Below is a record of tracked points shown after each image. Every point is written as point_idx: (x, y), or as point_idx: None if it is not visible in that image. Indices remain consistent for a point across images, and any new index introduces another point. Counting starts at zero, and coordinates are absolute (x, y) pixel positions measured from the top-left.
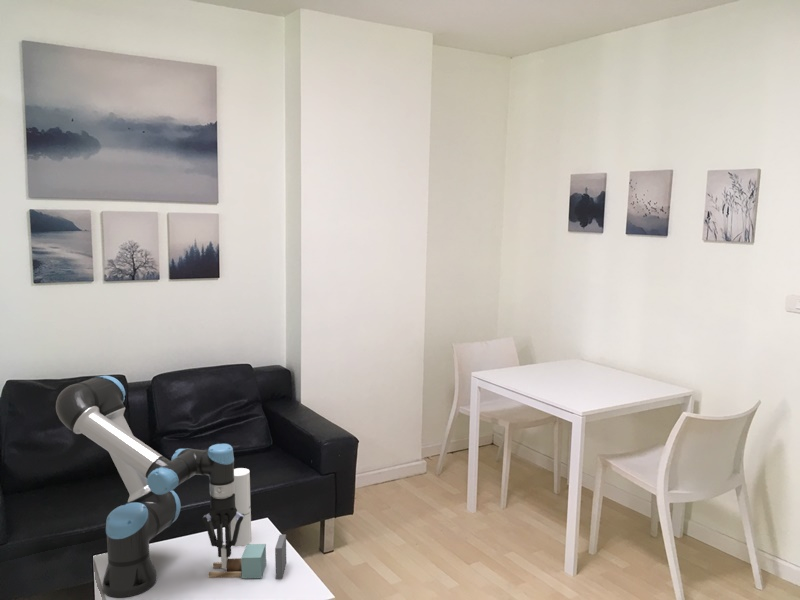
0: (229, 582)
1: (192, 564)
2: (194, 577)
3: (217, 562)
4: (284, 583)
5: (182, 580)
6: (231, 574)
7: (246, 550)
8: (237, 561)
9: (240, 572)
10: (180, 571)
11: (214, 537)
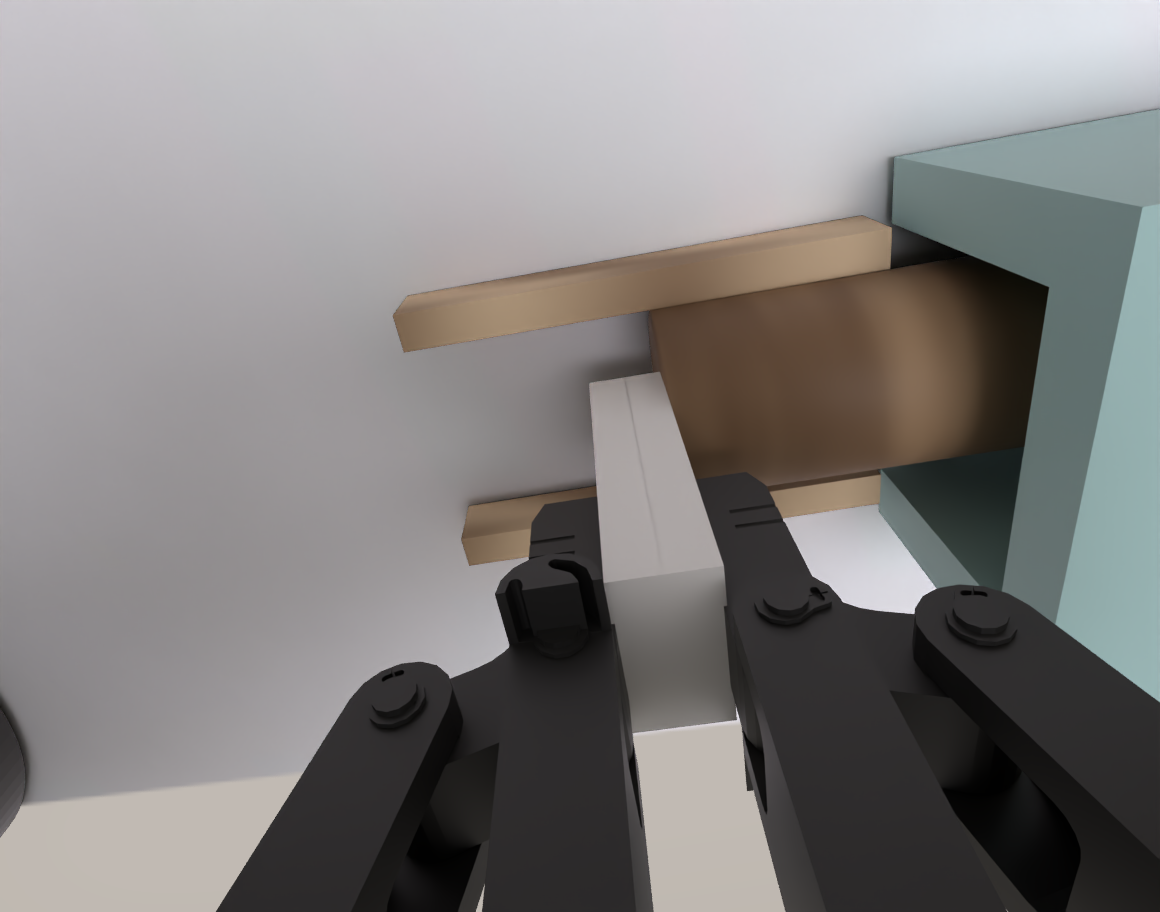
0: None
1: (56, 271)
2: (310, 544)
3: (449, 303)
4: None
5: (221, 607)
6: None
7: (1131, 500)
8: (849, 458)
9: (874, 499)
10: (47, 457)
11: (366, 846)
